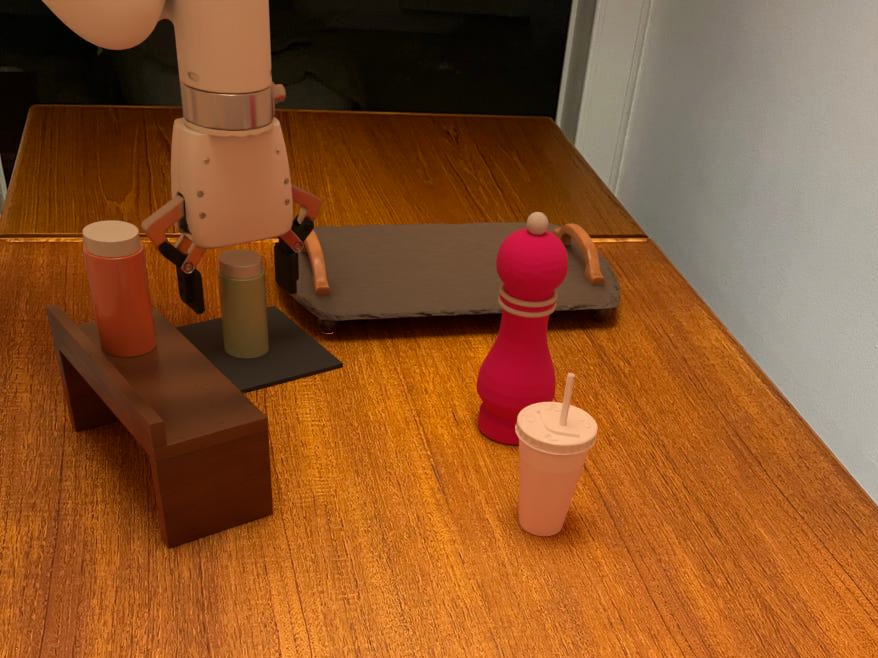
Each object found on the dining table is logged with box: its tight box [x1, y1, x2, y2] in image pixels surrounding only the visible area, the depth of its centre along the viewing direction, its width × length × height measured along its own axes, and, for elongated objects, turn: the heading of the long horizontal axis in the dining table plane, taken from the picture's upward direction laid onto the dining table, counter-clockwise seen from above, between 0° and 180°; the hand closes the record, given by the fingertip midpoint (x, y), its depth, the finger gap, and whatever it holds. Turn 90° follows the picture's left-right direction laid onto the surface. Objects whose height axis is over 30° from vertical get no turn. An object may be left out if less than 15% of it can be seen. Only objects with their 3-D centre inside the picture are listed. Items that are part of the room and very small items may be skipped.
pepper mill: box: [476, 211, 568, 446], centre depth 88 cm, size 7×7×20 cm
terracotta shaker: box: [82, 219, 157, 357], centre depth 78 cm, size 4×4×9 cm
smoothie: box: [515, 372, 599, 537], centre depth 80 cm, size 6×6×14 cm
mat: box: [174, 305, 344, 394], centre depth 100 cm, size 14×14×1 cm
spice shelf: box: [45, 303, 274, 549], centre depth 81 cm, size 20×9×11 cm, turn 37°
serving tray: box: [273, 221, 622, 333], centre depth 113 cm, size 39×23×6 cm, turn 106°
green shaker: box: [216, 248, 269, 359], centre depth 97 cm, size 4×4×9 cm
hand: (241, 298), depth 97 cm, fingers open, 9 cm apart
